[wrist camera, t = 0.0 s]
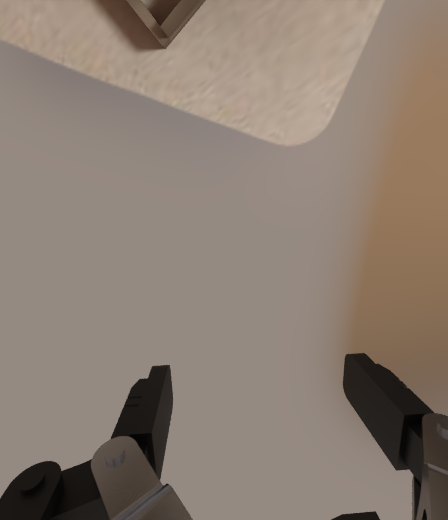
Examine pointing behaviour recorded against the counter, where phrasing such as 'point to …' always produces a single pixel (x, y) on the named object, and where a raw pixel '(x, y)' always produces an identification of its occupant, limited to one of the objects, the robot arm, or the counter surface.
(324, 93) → the counter surface
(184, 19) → the wooden rack
